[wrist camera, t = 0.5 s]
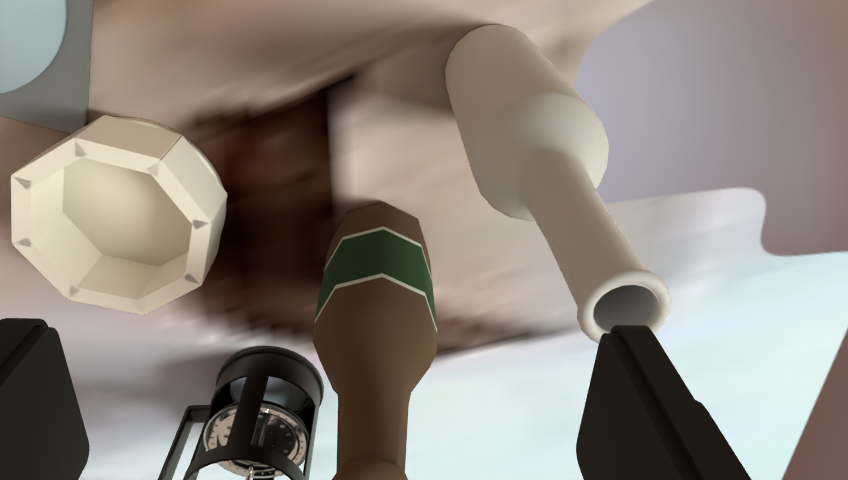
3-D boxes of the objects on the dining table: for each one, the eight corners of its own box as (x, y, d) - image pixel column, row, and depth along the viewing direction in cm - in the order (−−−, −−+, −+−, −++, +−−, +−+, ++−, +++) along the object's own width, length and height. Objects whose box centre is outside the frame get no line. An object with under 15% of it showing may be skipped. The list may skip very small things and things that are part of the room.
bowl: (54, 95, 42) (10, 121, 37) (238, 143, 44) (219, 173, 39) (50, 248, 48) (12, 287, 43) (214, 284, 50) (195, 325, 45)
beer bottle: (422, 288, 51) (442, 563, 30) (327, 280, 50) (279, 556, 29) (435, 203, 47) (469, 449, 26) (332, 193, 46) (283, 437, 26)
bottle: (469, 7, 40) (584, 180, 16) (557, 46, 42) (787, 259, 18) (429, 100, 43) (476, 365, 19) (513, 133, 45) (658, 420, 20)
